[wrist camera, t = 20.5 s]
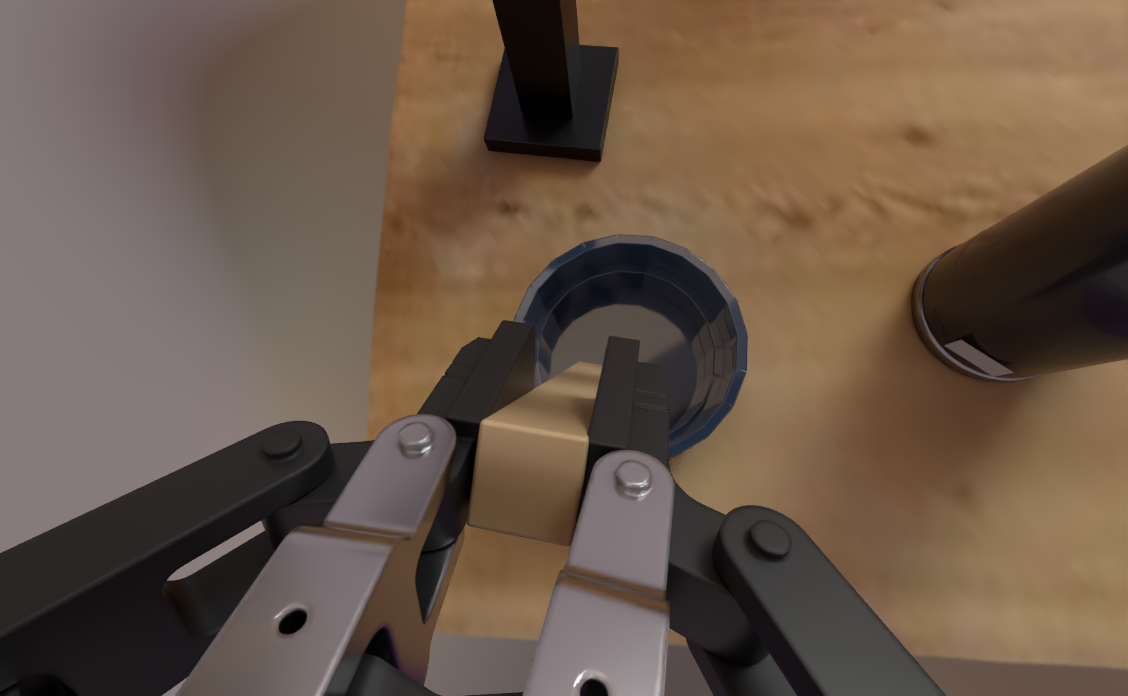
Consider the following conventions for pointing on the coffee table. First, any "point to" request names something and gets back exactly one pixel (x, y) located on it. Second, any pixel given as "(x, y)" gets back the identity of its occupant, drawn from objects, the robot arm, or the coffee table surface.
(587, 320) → the bowl
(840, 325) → the coffee table surface
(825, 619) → the robot arm
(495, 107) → the headphone stand
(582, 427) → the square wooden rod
